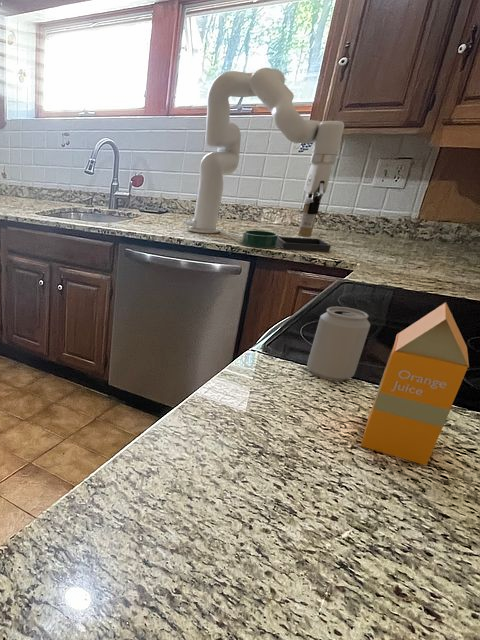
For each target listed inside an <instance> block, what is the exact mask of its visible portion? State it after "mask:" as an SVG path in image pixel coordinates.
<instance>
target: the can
mask: <svg viewBox="0 0 480 640" xmlns="http://www.w3.org/2000/svg"><path fill="white" fill-rule="evenodd" d="M369 317H370V316H369V314H368V313H367V312H366V311H363V310H360V309H358V308H357V309H356V308H351V307H347V306H330V307H328V308H326V312H324V313H322V314H321V315H320V316H319V320H318V323H317V327H316V330H315V334H314V337H313V341H312V345H311V348H310V352H309V356H308V360H307V363H306V366H307V368H308V369H309V370H310V372H311V373H312V374H313V375H315V376H316V377H319V378H321V379H323V380H324V379H325V380H329V381H335V382H336V381H337V382H341V381H346V380H348V379H350V378H353V377H354V376H355V374H356V371H357V368H358V365H359V362H360V359H361V355H362V353H363V349H364V346H365V343H366V340H367V336H368V334H369V331H370V328H371V323H370V321H369V320H368V318H369Z"/></svg>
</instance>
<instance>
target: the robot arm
mask: <svg viewBox="0 0 480 640" xmlns="http://www.w3.org/2000/svg"><path fill="white" fill-rule="evenodd" d="M285 82H286V77H285V74H284V73H283V72H282V71H281V70H279V69H276V68H269V67H261V68H259V69H257V70H256V71H254V72H243V71H238V70H237V71H236V70H230V71H225V72H222V73H221V74H219V75H218V76H217V77H216V78H214V80H213V81H212V82H211V84H210V86H209V88H208V91H207V99H206V123H205V137H204V139H205V144H206V145H207V146H208V148H209V147H210V148H211V149H217V150H216V151H211V152H208V153H207V154H205V155H204V156H203V157H202V159H201V161H200V164H199V184H198V190H197V197H196V203H195V209H194V215H193V218H192V219H190V220H187V219H186V220H185V219H183V220H181V225H182V226H188V231H190V232H193V233H198V234H217V233H220V230H221V229H220V228H219V227H217V225H218V219H219V213H220V208H221V202H222V198H223V193H224V176H229V175H232V174H234V172H235V171H236V170H237V168H238V166H239V161H240V151H241V137H242V134H241V130H240V128H239V126H238V125H237V124H236V123H234V122H230V118H231V117H230V115H231V106H230V101H229V98H230V97H233V98H250V97H251V98H252V97H257V98H258V99H259V100H260V102H261V103H262V104H263V105H264V107H266V108H267V109H268V111H269V112H270V113H271V118H272V119H273V122H274V124H275V126H276V127H277V129H278V130H279V132H281V133H282V134H283V136H284V137H285V138H286V139H287V140H288V141H290V142H291V143H293V144H314V145H313V148H312V153H311V157H310V160H309V161H310V162H309V164H311V165H310V166H309V169H308V172H307V175H306V178H305V183H304V186H303V191H304V192H305V193H306V197H305V199H306V198H312V199H311V202H310V204H309V208H308V212H307V214H316V215H318V214H319V213H318V212H319V209H320V205H321V202H322V197H324V194H326V192H327V190H328V187H329V182H330V177H331V173H332V167H333V165H335V164H336V160H337V156H338V152H339V148H340V145H341V140H342V136H343V133H344V129H345V122H344V121H341V120H323V121H321V120H316V119H315V120H314V119H305V118H304V117H302V116H301V114H300V113H299V112H298V111H297V109H296V108H295V106H294V105H293V104H294V103H293V100H294V97H295V94H294V93H293V91H292V90H290V88H289V87H288V86H287V85H286V84H285ZM304 208H305V203H304V205H303V209H302V213H303V212H304Z"/></svg>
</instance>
